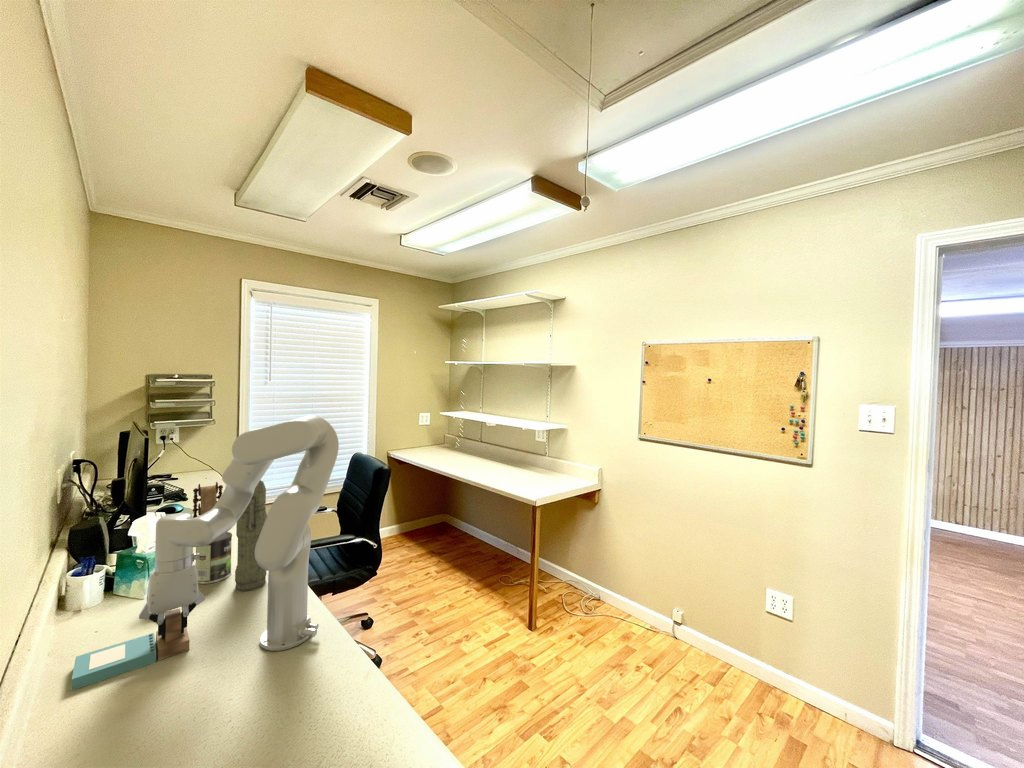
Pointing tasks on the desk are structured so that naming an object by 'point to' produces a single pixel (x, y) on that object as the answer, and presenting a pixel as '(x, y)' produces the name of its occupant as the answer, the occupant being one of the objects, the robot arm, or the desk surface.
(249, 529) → the grey stone statue
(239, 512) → the robot arm
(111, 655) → the teal labeled box
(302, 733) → the desk surface
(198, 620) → the desk surface
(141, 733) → the desk surface
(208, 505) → the scroll
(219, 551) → the coffee can
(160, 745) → the desk surface
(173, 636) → the stub
